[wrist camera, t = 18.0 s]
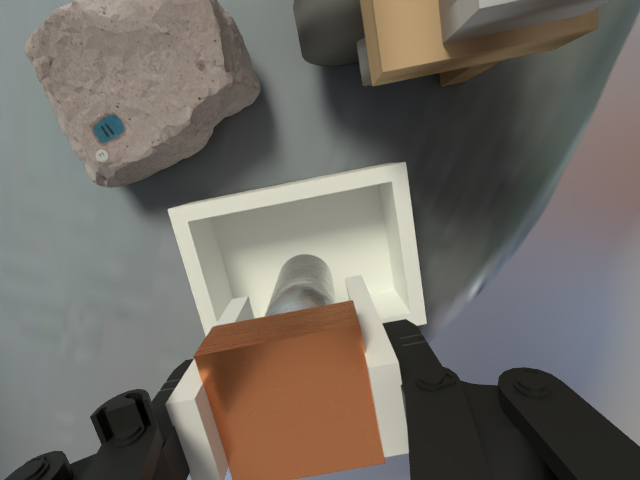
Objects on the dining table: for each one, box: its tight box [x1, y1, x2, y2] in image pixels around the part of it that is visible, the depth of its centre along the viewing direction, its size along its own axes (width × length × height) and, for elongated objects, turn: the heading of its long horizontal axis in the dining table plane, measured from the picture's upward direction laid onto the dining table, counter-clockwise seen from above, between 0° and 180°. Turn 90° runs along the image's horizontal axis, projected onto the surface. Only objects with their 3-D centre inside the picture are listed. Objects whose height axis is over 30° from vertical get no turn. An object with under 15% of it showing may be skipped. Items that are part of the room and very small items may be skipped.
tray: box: [167, 162, 427, 336], centre depth 23 cm, size 15×11×5 cm
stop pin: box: [194, 254, 385, 480], centre depth 14 cm, size 4×4×11 cm
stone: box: [24, 0, 260, 187], centre depth 20 cm, size 13×10×6 cm
